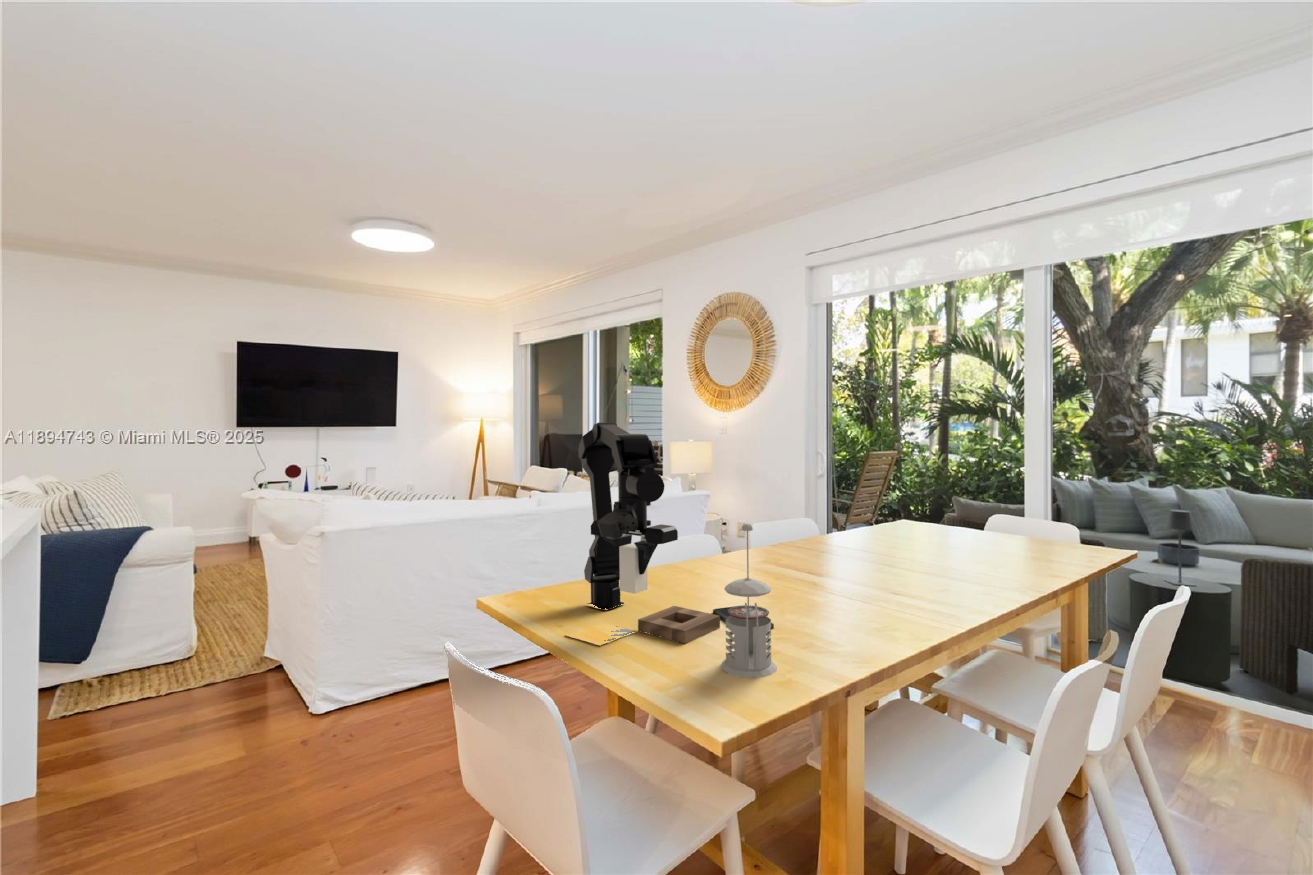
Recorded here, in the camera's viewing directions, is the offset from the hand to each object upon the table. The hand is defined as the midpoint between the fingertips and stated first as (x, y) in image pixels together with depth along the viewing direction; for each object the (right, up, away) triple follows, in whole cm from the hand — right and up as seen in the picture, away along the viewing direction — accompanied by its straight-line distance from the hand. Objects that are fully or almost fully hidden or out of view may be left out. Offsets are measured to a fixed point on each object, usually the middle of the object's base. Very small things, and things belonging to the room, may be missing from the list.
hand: (633, 572), depth 129 cm
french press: (+21, -13, -19) cm, 31 cm away
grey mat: (-7, -12, -1) cm, 14 cm away
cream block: (0, -4, 0) cm, 4 cm away
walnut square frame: (+9, -12, +2) cm, 15 cm away
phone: (+23, -12, +7) cm, 27 cm away
